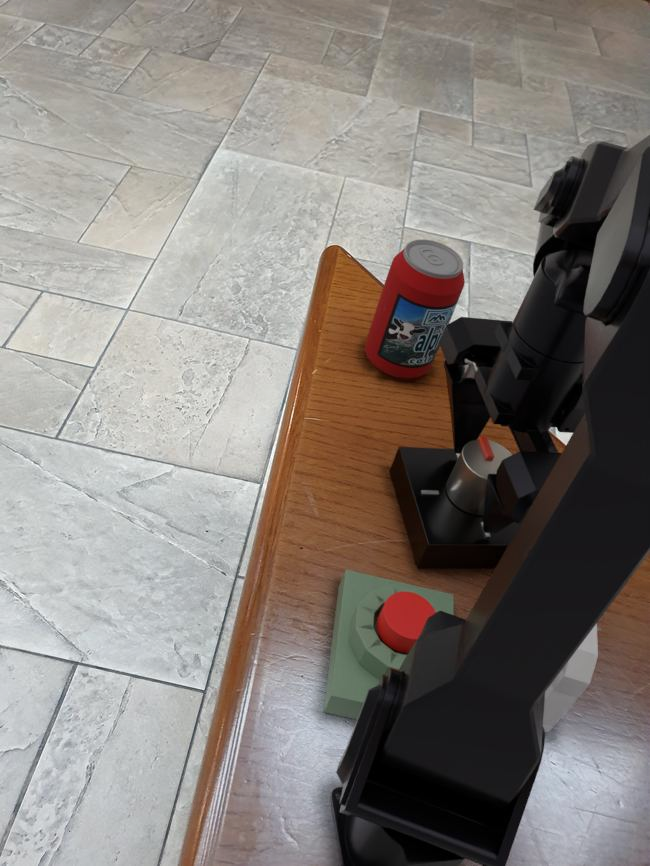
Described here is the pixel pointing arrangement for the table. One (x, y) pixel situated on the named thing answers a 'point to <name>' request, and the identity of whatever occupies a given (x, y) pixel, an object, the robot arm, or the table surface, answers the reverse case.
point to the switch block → (365, 639)
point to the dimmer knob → (474, 474)
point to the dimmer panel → (441, 514)
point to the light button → (403, 620)
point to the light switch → (571, 681)
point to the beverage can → (415, 308)
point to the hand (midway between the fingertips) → (474, 490)
